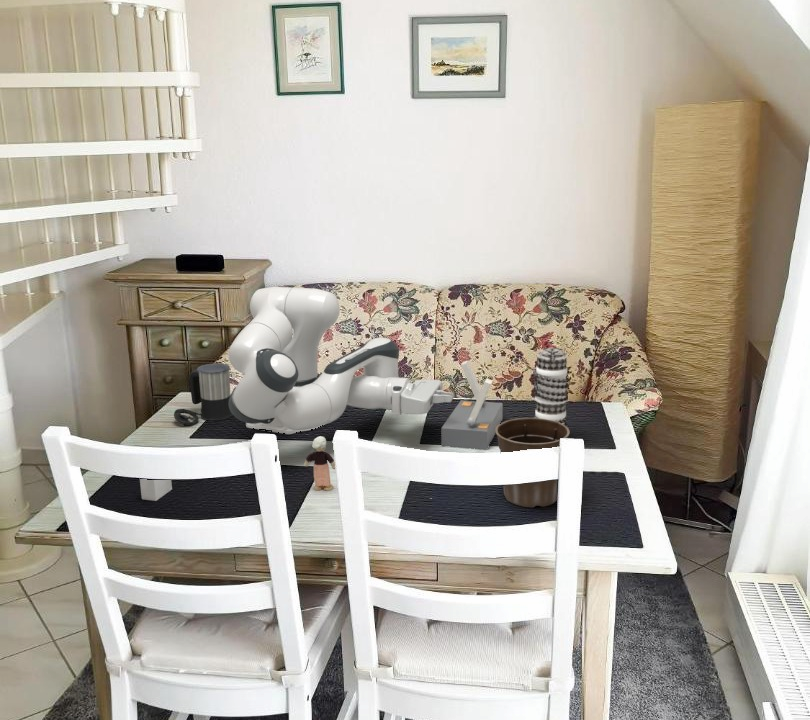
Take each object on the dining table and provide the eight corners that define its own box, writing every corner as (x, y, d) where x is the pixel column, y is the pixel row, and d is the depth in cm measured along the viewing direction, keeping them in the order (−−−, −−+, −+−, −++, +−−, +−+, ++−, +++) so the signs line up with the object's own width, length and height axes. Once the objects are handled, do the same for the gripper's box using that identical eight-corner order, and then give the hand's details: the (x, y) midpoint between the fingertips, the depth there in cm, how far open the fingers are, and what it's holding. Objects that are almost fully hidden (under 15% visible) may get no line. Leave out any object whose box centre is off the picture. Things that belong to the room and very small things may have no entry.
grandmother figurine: (338, 484, 206) (336, 433, 203) (337, 491, 203) (334, 439, 199) (306, 484, 206) (303, 434, 203) (303, 491, 203) (301, 439, 199)
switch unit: (441, 446, 229) (441, 427, 228) (460, 416, 251) (460, 399, 250) (486, 449, 226) (486, 430, 224) (502, 419, 248) (502, 402, 247)
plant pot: (552, 518, 187) (554, 447, 182) (483, 504, 194) (483, 435, 190) (577, 490, 200) (579, 424, 196) (511, 478, 208) (512, 413, 204)
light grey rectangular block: (172, 489, 206) (168, 449, 203) (155, 500, 199) (151, 459, 197) (158, 487, 207) (154, 447, 204) (141, 499, 200) (137, 458, 198)
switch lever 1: (477, 406, 243) (459, 365, 242) (480, 402, 247) (462, 362, 245) (484, 404, 242) (466, 363, 241) (487, 400, 246) (469, 359, 245)
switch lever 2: (465, 424, 227) (483, 381, 223) (468, 419, 231) (486, 377, 227) (472, 427, 227) (490, 385, 223) (475, 422, 231) (493, 380, 226)
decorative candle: (532, 435, 236) (534, 345, 229) (567, 436, 234) (570, 345, 228) (531, 447, 227) (533, 353, 221) (567, 448, 226) (570, 354, 219)
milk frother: (238, 412, 259) (235, 363, 256) (214, 429, 245) (210, 379, 241) (195, 409, 263) (191, 361, 259) (168, 426, 248) (163, 376, 244)
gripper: (410, 394, 243) (459, 397, 240) (391, 417, 224) (444, 420, 220) (410, 372, 241) (459, 375, 238) (391, 393, 222) (444, 396, 219)
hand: (452, 397), depth 229 cm, fingers closed
